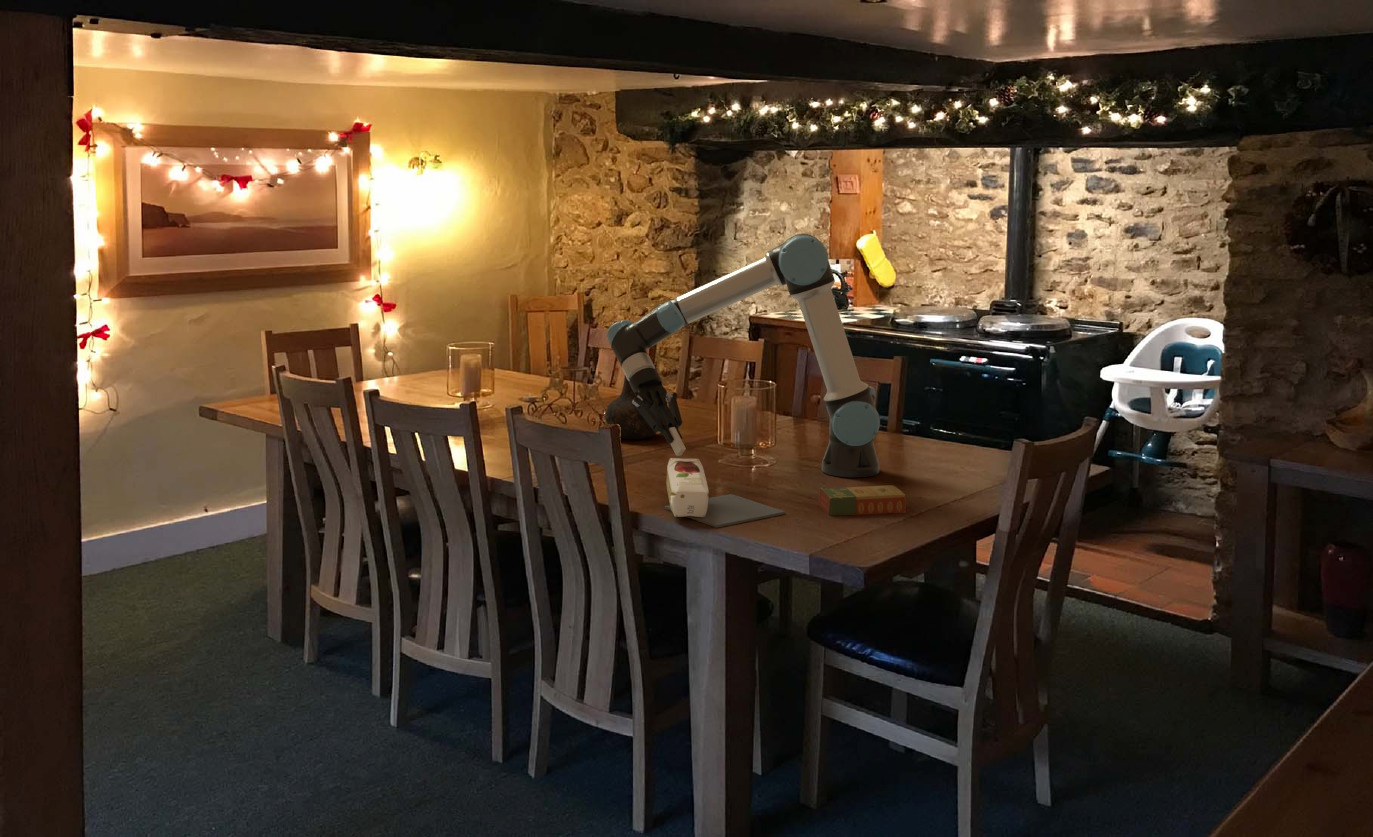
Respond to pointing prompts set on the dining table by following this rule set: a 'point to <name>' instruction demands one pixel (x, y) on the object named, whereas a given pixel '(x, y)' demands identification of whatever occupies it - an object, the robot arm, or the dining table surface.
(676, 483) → the juice carton
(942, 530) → the dining table surface
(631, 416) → the glass bottle
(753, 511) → the mat
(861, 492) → the carton
